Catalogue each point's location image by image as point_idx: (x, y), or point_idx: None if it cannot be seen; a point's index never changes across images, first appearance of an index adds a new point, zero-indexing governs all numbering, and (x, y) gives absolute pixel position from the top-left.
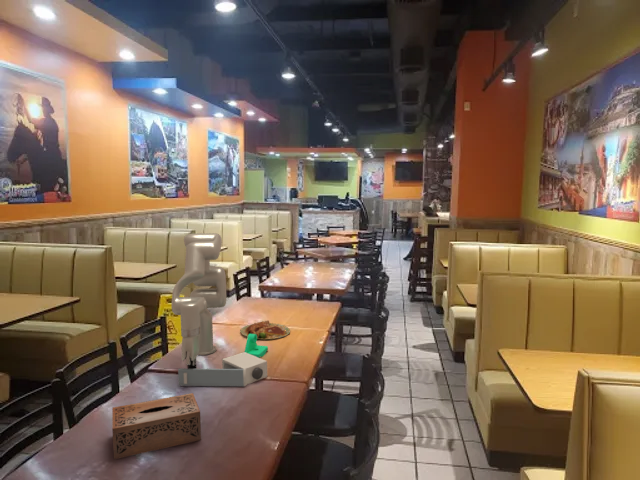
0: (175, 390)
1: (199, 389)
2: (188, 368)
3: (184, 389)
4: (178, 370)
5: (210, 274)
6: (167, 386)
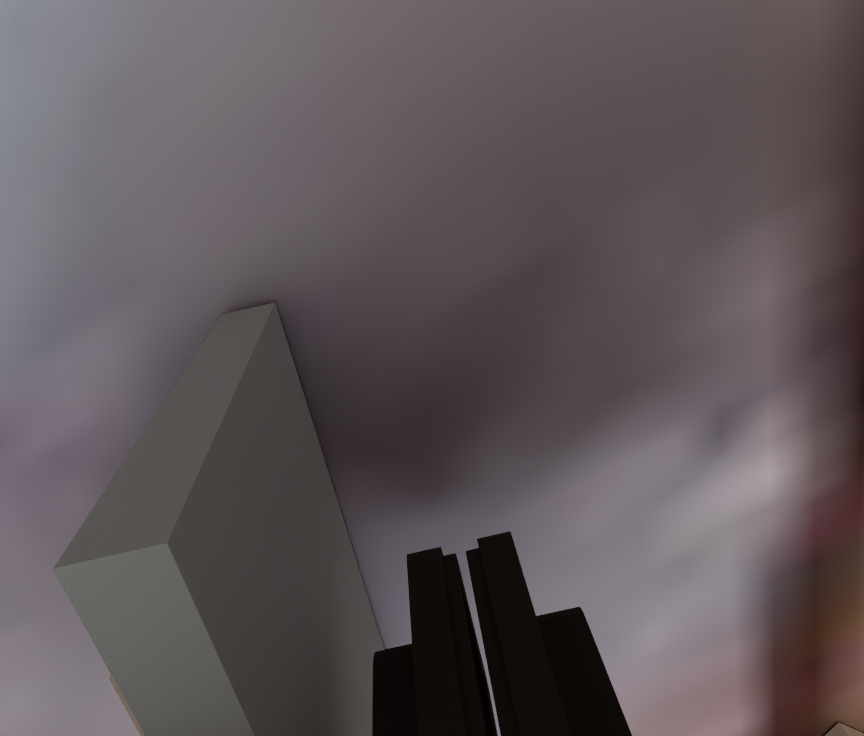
0: (32, 344)
1: None
2: (420, 718)
3: None
4: (75, 548)
5: None
6: (127, 35)
